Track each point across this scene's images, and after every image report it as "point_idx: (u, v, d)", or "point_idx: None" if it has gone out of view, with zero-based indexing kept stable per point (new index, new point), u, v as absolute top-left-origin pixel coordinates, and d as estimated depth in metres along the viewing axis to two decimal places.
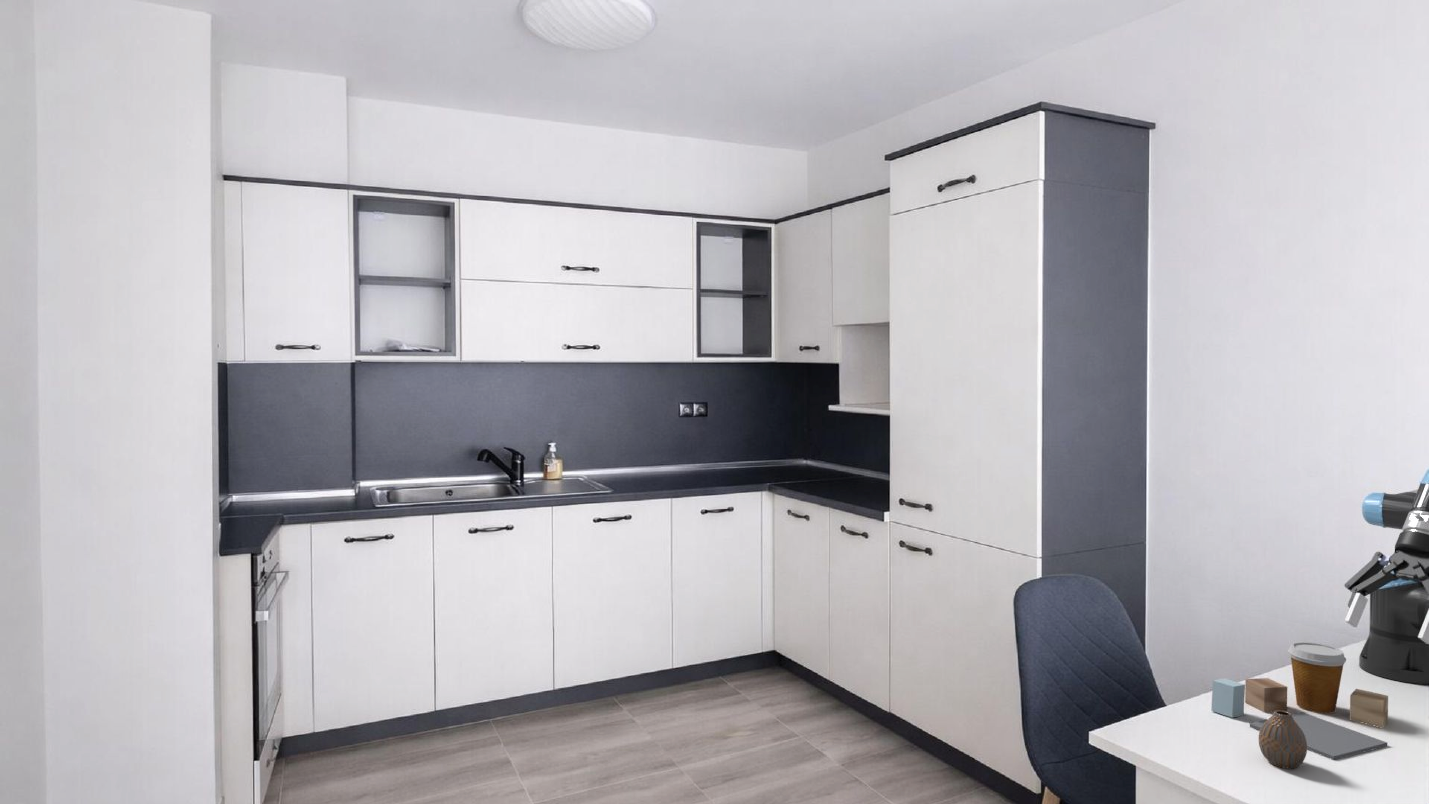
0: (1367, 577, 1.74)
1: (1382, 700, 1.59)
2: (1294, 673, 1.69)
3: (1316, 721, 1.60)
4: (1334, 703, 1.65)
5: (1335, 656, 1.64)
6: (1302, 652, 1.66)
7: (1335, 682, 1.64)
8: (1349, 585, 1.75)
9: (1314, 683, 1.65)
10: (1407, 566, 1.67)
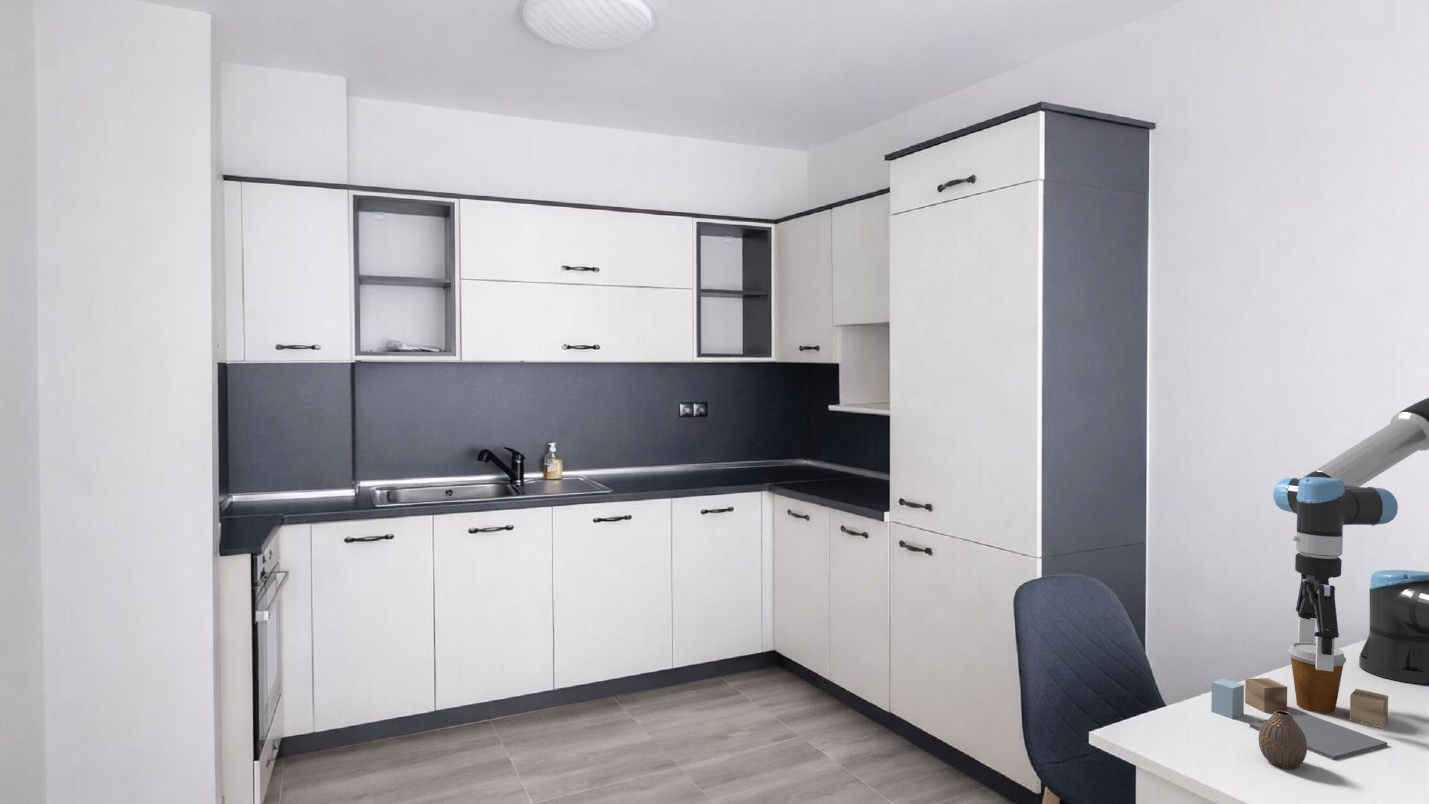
0: None
1: (1382, 700, 1.59)
2: (1294, 673, 1.69)
3: (1316, 721, 1.60)
4: (1334, 703, 1.65)
5: (1335, 656, 1.64)
6: (1302, 652, 1.66)
7: (1335, 682, 1.64)
8: (1297, 610, 1.76)
9: (1314, 683, 1.65)
10: None
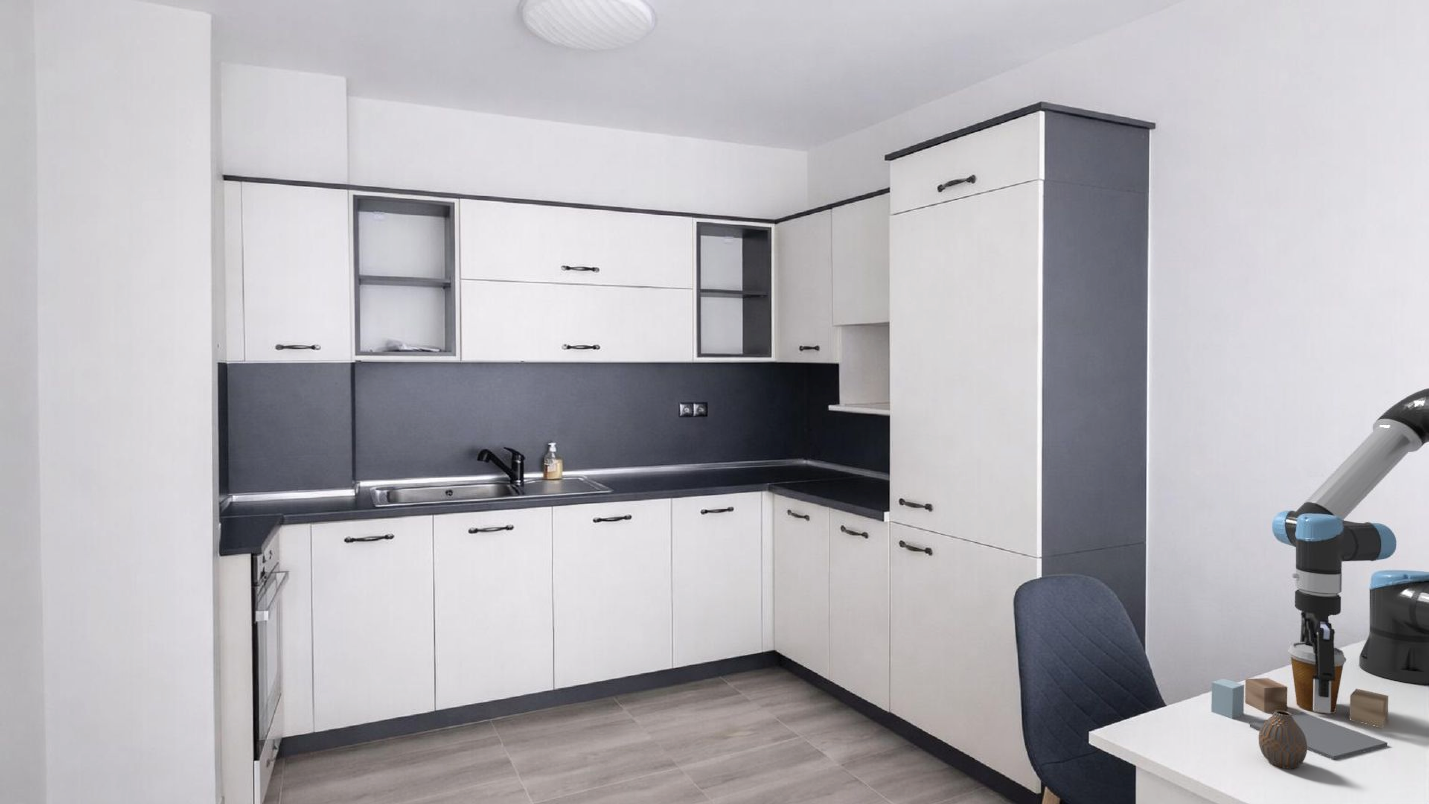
0: None
1: (1382, 700, 1.59)
2: (1294, 673, 1.69)
3: (1316, 721, 1.60)
4: (1334, 703, 1.65)
5: (1335, 656, 1.64)
6: (1302, 652, 1.66)
7: (1335, 682, 1.64)
8: None
9: None
10: None
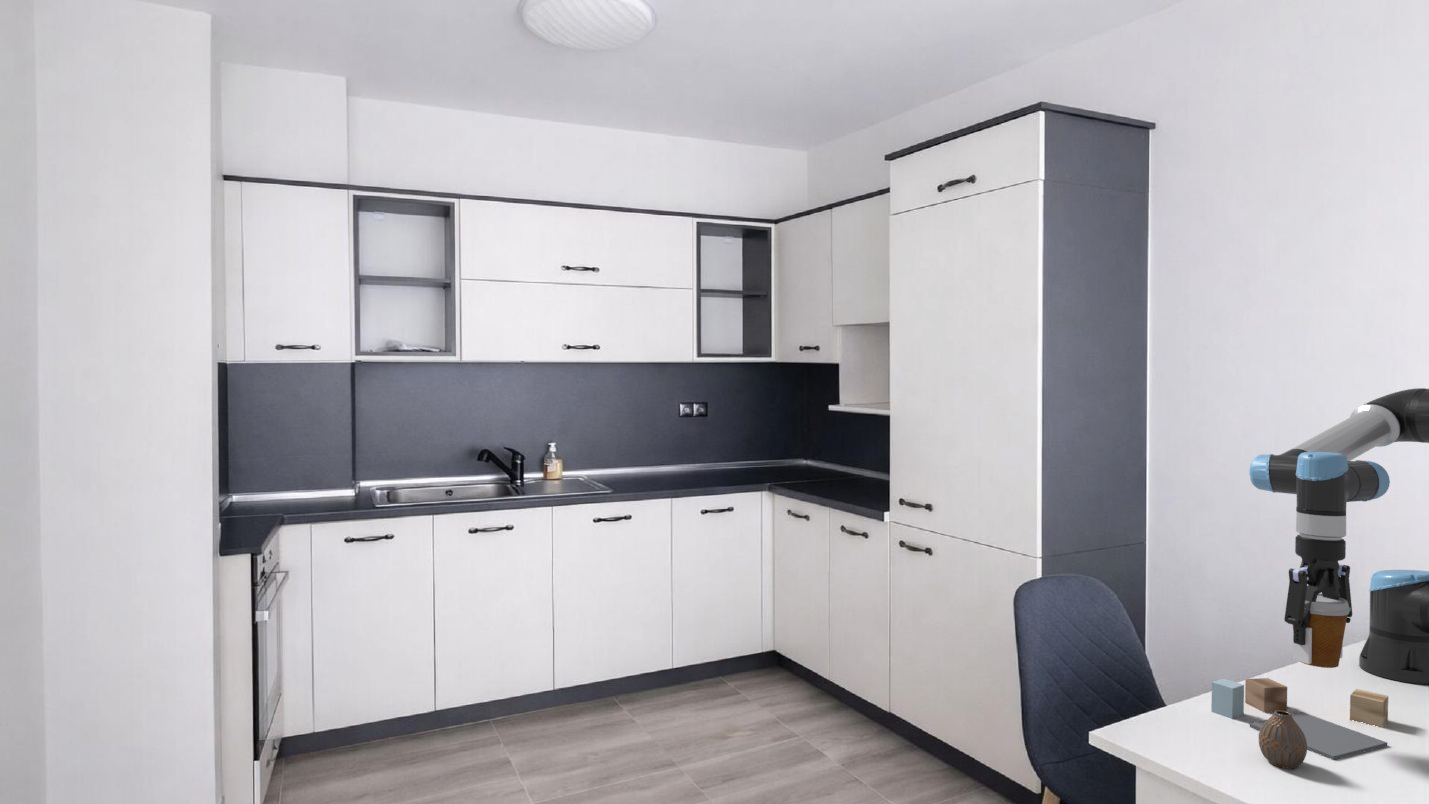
0: (1340, 595, 1.56)
1: (1382, 700, 1.59)
2: None
3: (1316, 721, 1.60)
4: (1325, 657, 1.51)
5: (1318, 603, 1.51)
6: None
7: (1321, 633, 1.51)
8: None
9: None
10: None
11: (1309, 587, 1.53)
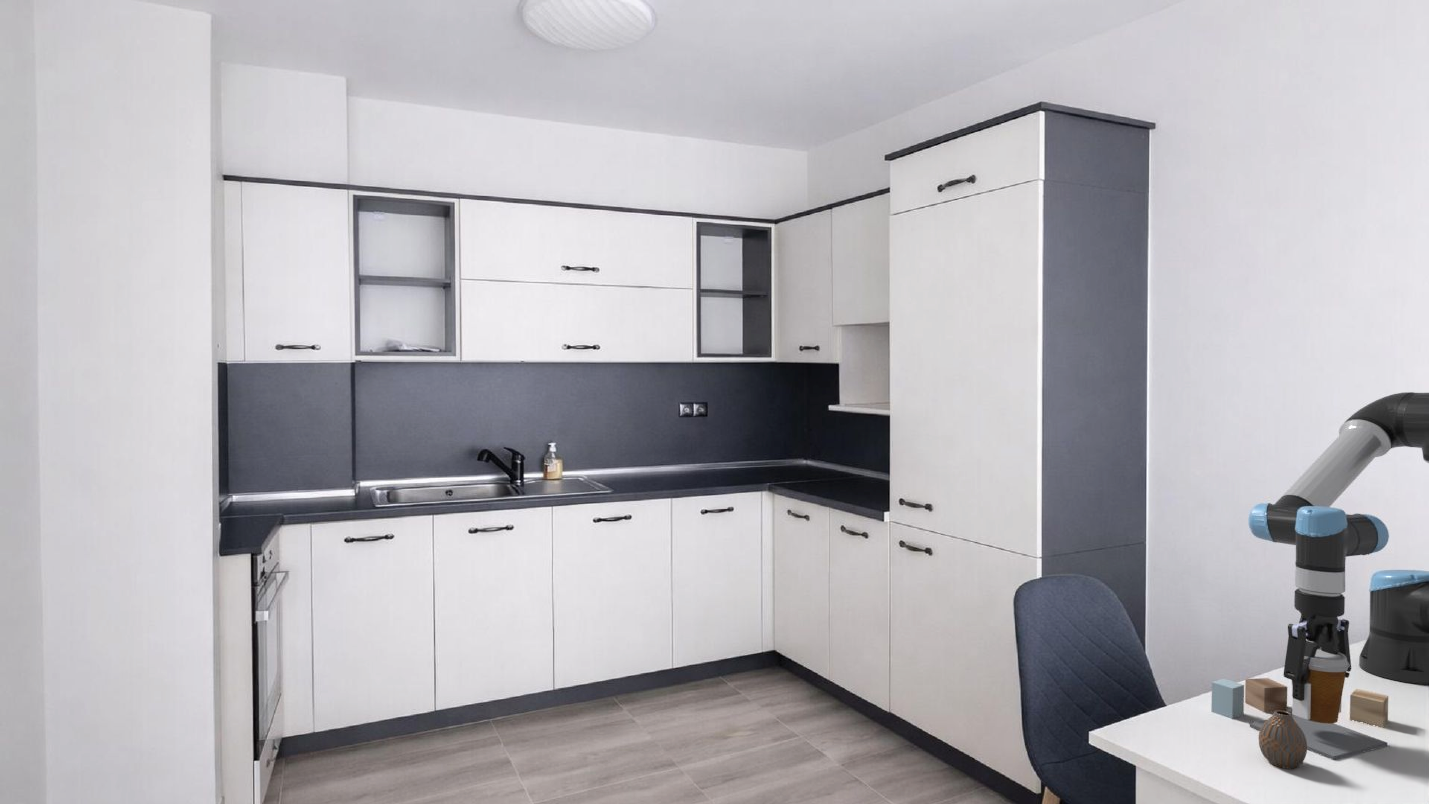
0: (1339, 649, 1.56)
1: (1382, 700, 1.59)
2: None
3: None
4: (1323, 713, 1.51)
5: (1317, 659, 1.51)
6: None
7: (1320, 689, 1.51)
8: None
9: None
10: None
11: (1308, 642, 1.53)
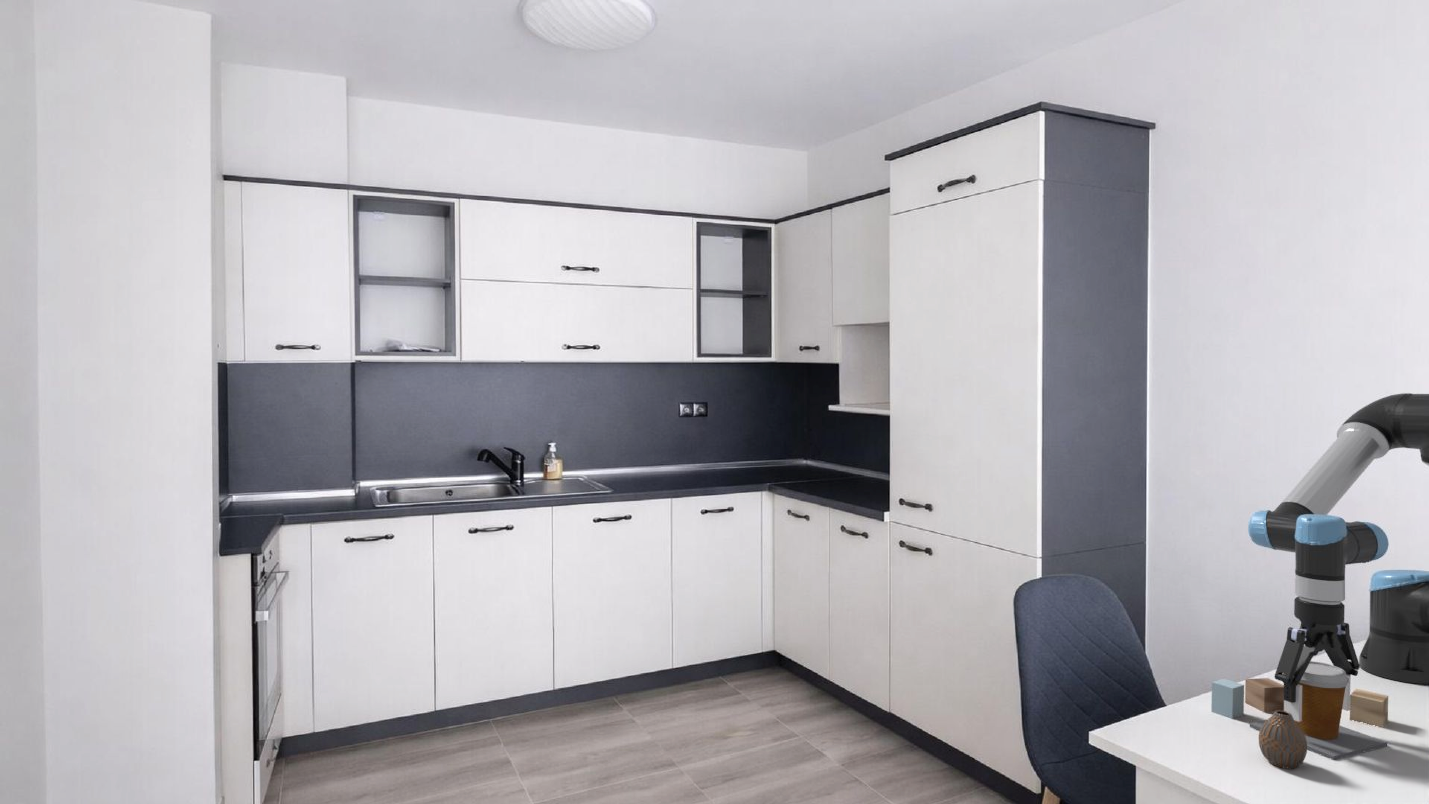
0: (1344, 650, 1.57)
1: (1382, 700, 1.59)
2: None
3: None
4: (1324, 729, 1.51)
5: (1316, 676, 1.51)
6: None
7: (1320, 705, 1.51)
8: None
9: None
10: None
11: (1305, 648, 1.53)
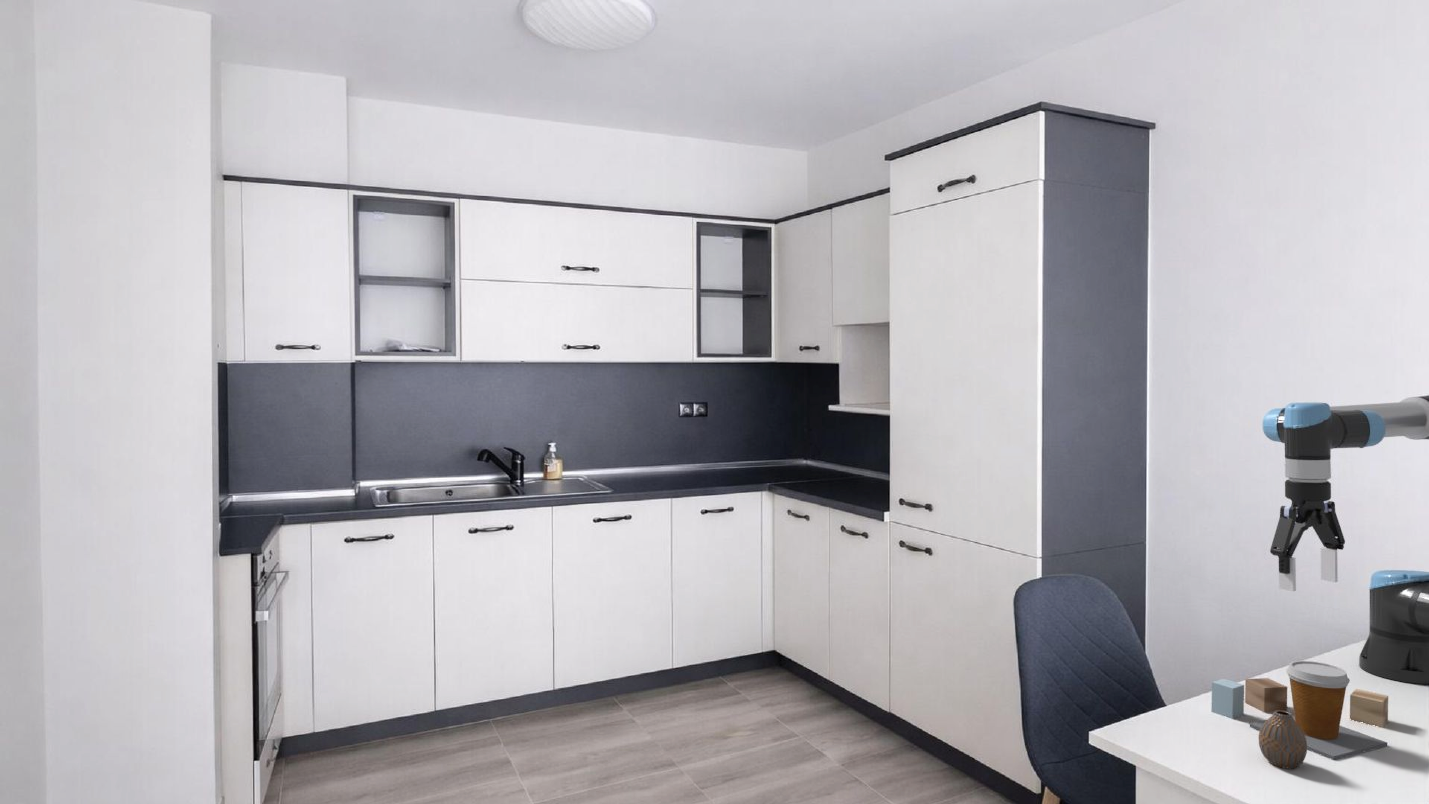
0: (1331, 527, 1.70)
1: (1382, 700, 1.59)
2: None
3: None
4: (1324, 729, 1.51)
5: (1316, 675, 1.51)
6: (1289, 666, 1.56)
7: (1320, 705, 1.51)
8: None
9: (1297, 701, 1.54)
10: None
11: (1297, 524, 1.65)
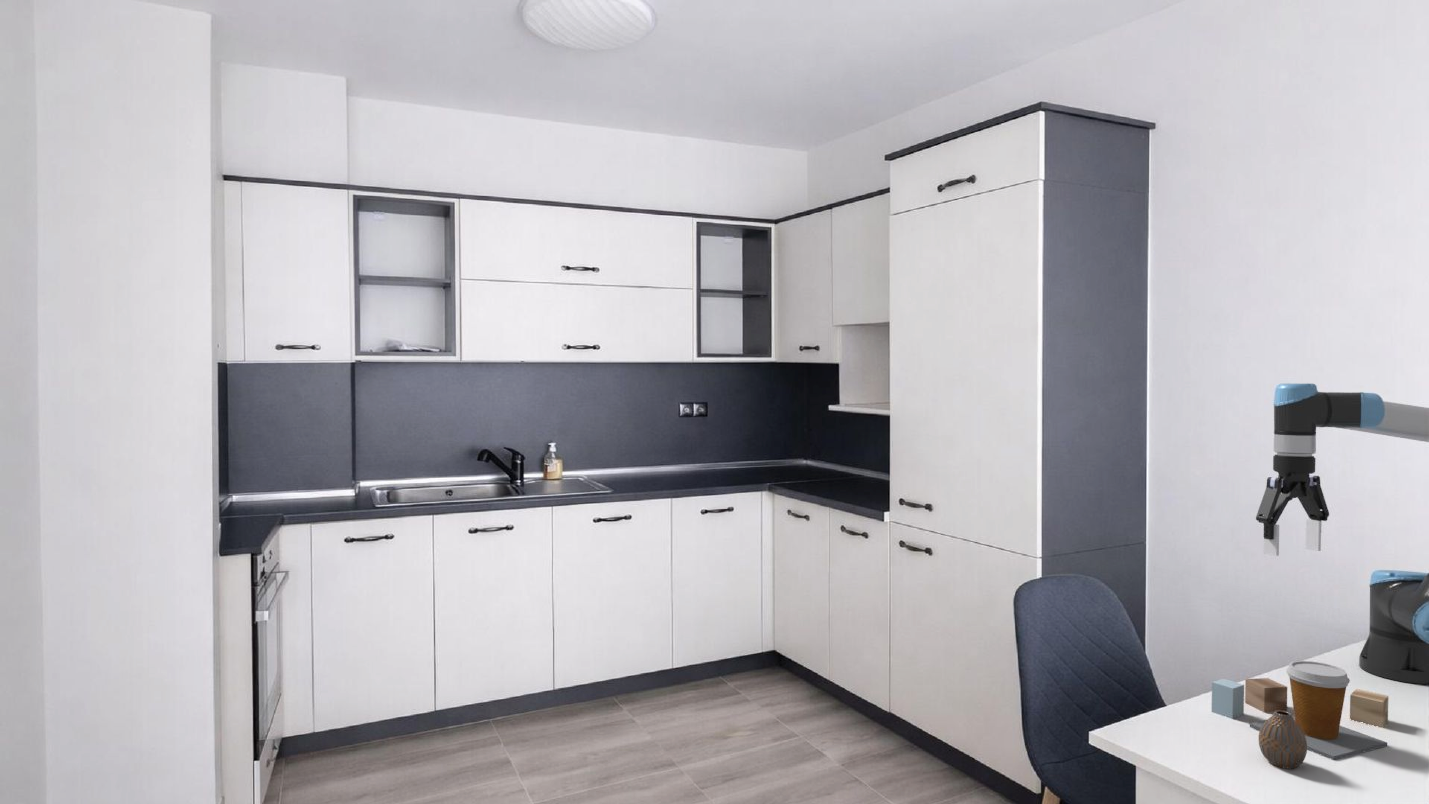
0: (1316, 500, 1.83)
1: (1382, 700, 1.59)
2: None
3: None
4: (1324, 729, 1.51)
5: (1317, 675, 1.51)
6: (1289, 666, 1.56)
7: (1320, 705, 1.51)
8: None
9: (1297, 701, 1.54)
10: None
11: (1282, 494, 1.79)
